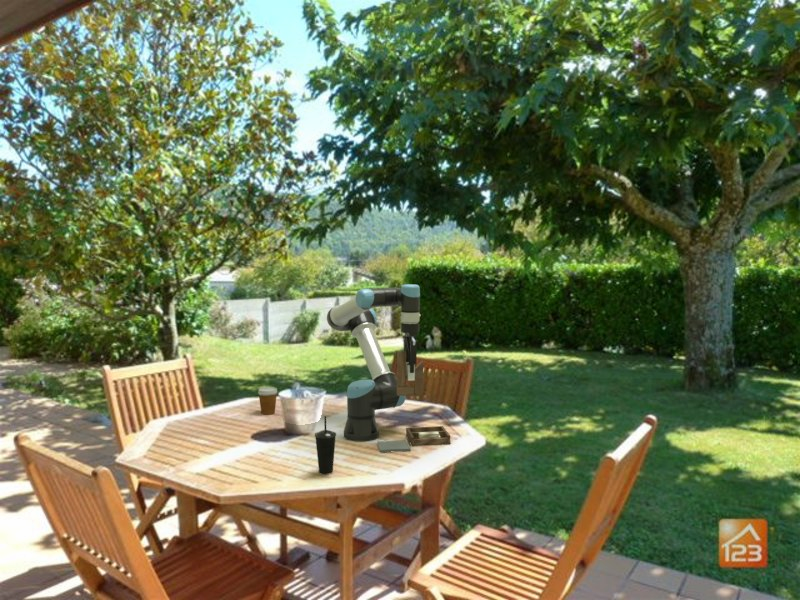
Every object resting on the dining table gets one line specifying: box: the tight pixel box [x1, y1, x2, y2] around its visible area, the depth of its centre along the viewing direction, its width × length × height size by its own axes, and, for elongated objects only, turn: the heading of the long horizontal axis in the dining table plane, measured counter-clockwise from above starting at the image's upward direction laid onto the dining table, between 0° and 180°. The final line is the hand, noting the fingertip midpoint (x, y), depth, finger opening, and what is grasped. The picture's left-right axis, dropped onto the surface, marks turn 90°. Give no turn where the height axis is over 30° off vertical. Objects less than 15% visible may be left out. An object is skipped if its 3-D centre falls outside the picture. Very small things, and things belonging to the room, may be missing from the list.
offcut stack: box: [418, 432, 441, 439], centre depth 240 cm, size 9×3×4 cm, turn 98°
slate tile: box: [376, 439, 412, 453], centre depth 234 cm, size 12×11×1 cm
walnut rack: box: [405, 425, 451, 447], centre depth 244 cm, size 16×14×4 cm
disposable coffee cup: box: [257, 386, 278, 416], centre depth 286 cm, size 10×10×12 cm
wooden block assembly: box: [396, 350, 424, 397], centre depth 239 cm, size 4×11×18 cm, turn 93°
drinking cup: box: [314, 415, 337, 475], centre depth 207 cm, size 8×8×20 cm
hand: (409, 379), depth 239 cm, fingers closed on wooden block assembly, 4 cm apart
